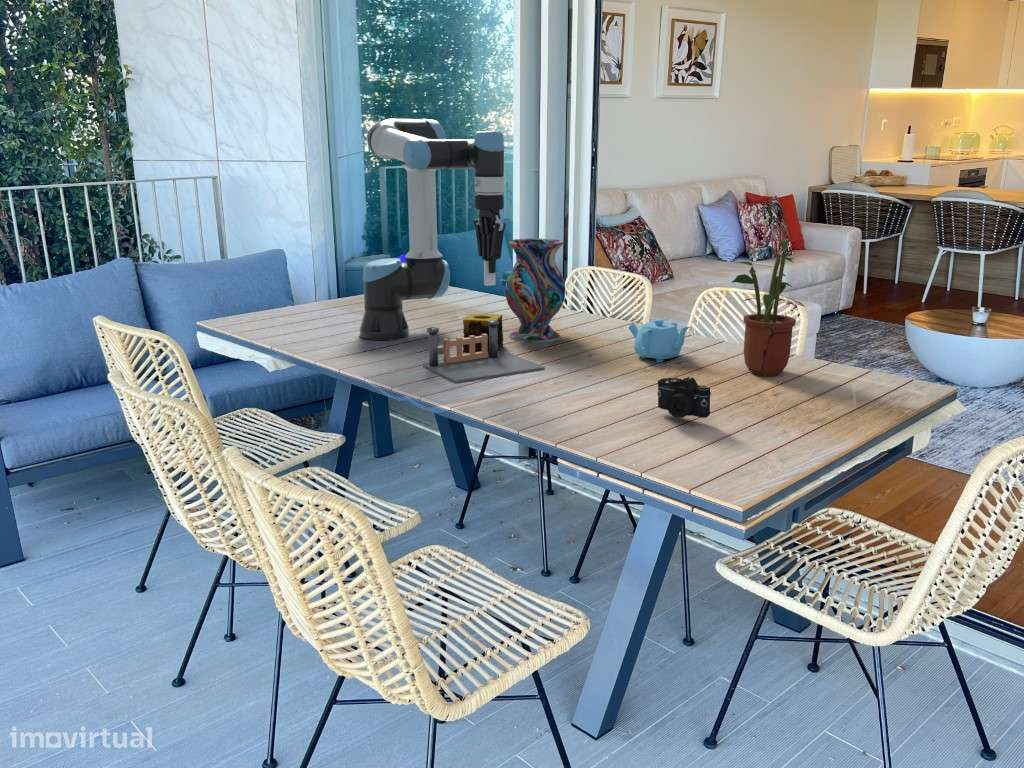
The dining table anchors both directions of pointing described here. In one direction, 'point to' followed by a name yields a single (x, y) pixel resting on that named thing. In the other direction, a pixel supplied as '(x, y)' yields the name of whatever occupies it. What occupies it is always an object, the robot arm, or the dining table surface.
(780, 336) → the potted plant
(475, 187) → the robot arm
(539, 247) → the vase
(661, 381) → the film camera
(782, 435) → the dining table surface
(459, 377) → the mat
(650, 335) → the teapot
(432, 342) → the latch post
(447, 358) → the gate
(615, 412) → the dining table surface
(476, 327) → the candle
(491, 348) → the glossy grey waisted cylinder
